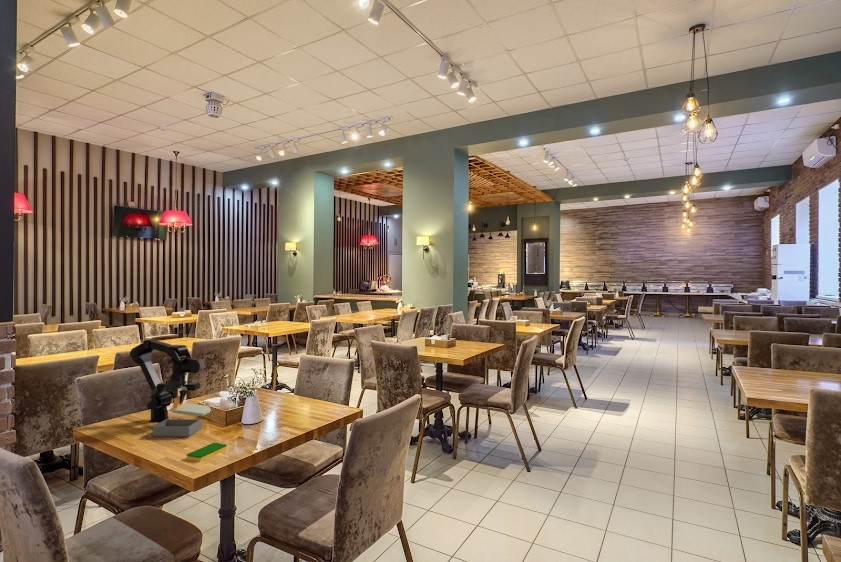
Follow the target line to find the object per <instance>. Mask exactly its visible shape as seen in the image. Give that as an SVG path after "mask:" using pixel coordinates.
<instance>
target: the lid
mask: <svg viewBox="0 0 841 562" xmlns="http://www.w3.org/2000/svg"><path fill="white" fill-rule="evenodd" d="M208 406H209V405H204V404H196V403H187V402H184V401H183V402H182V404H180V394H178V396H177V397H175V398H174V401H173V406H172V407H171V408H170V409H168V412H172V413H173V414H179V415H180V414H181V415H187V416H196V417H197V416H198V417H203V416H205V415H207V414H208V413H210V412H211V411H212V410H211V409H209V408H208Z"/></svg>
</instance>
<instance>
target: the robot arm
mask: <svg viewBox="0 0 841 562" xmlns="http://www.w3.org/2000/svg"><path fill="white" fill-rule="evenodd" d="M154 350H155V351H157V352H161V353H164V354H167V356H168V357H169V358H170V359H169V360H168V362H169V363H171V374H170V376H169V379H168V380H167V381H161V379H160V378H159V376H158V374H157V371H156V369H155V368H154V365H153V363H152V361H151V360H152V352H153V351H154ZM129 356H130V358H131V359H132V361H133V362H134V363H135V364H137V365H138V366H139V368H140V370H141V371H142V373H143V375H144V377H145V379H146V382H147V385H148V386H149V389H150V391H151V393H150V401H149V402H148V403H147V405H146V407H147V409H148V410H150V419H149V420H148V422H150V423H154V422H155V423H161V422H162V421H164V420H166V419H170V417H169V409H168V407H169V406H171V402H172V401H173V402H174V398H175V397H177V396H179V395H180V404H182V402H183V403H184V400H185V398H186V395H188V392H189V391H190V392H191V391H197V390H199V389H201V383H200V382H198V381H197V382H195V381H194V382H193V381H192V382H190V383H187V380H186V376H187V374H197V373H198V372H199V371H200V369H201V364H200V363H199V361H197V358H193V356H192V355H191V352H190V351H189V349H188V347H187V345H185V344H170V343H167V342H164V341H160V340H157V339H155V338H151V339H145V340H144V341H143V342H142V343H139V344H138V345H136V346H134V347H133V348H132V349H130V353H129ZM179 389H181V390H179Z"/></svg>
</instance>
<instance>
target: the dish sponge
mask: <svg viewBox="0 0 841 562" xmlns="http://www.w3.org/2000/svg"><path fill="white" fill-rule="evenodd" d="M227 450H228V444H227V443H219V442H212V443H210V444H207V445H205V446H202V447H200V448H198V449H195V450H194V451H191V452H188V453H187V454H186V460H188V461H192V460H193V462H198V461H199V462H198V463H200V461H201V462H204V461H205V459H206V460H208V459H210V458H212V457H214V456H216V455H219V454H220V452H221V453H222V451H223V452H225V451H227ZM207 458H208V459H207ZM203 460H204V461H203Z"/></svg>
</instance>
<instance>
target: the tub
mask: <svg viewBox="0 0 841 562" xmlns="http://www.w3.org/2000/svg"><path fill="white" fill-rule="evenodd" d="M200 430H202V419H199V418H195V419H194V418H193V419H192V418H191V419H190V418H188V419H187V418H185V419H184V418H183V419H182V418H168V419H166V420H164V421H162V422H158V423H157V424H155V425H153V426H152V438H190V437H192V436H193V435H195V434H196V433H198V432H199V431H200Z"/></svg>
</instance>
